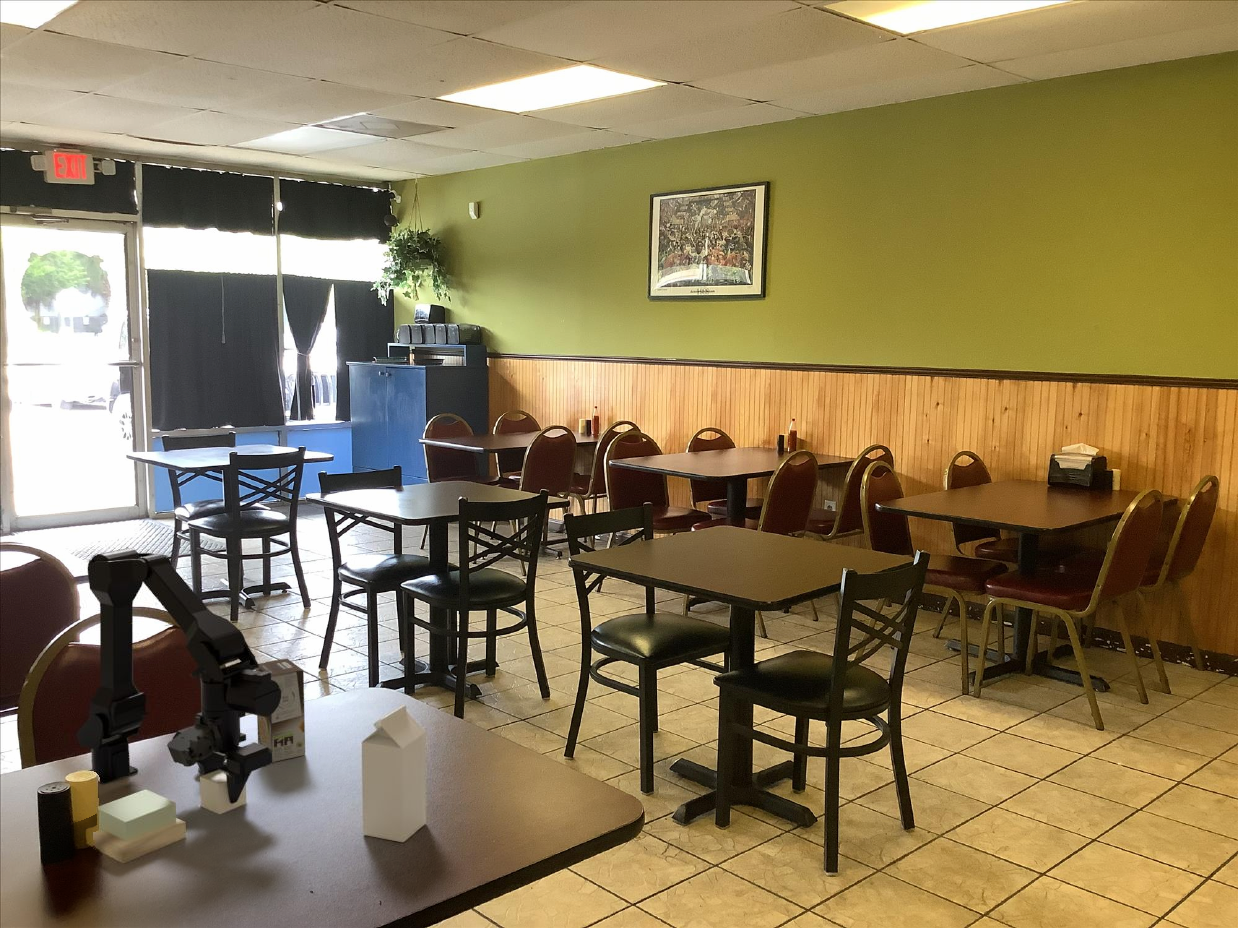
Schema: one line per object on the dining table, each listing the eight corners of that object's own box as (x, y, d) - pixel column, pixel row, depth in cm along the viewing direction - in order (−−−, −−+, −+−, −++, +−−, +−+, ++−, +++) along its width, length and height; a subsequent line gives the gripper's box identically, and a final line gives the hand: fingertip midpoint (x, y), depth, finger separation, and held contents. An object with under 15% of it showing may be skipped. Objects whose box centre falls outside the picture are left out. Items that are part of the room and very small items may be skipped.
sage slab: (96, 826, 157) (95, 807, 156) (146, 807, 163) (145, 789, 163) (126, 841, 152) (125, 821, 152) (176, 821, 159) (175, 802, 159)
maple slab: (86, 847, 156) (85, 828, 156) (148, 823, 165) (147, 804, 164) (123, 867, 151) (122, 847, 151) (186, 840, 159) (185, 821, 159)
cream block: (200, 806, 170) (199, 776, 169) (227, 795, 174) (226, 766, 173) (219, 814, 167) (218, 784, 166) (246, 802, 171) (245, 773, 170)
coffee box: (307, 755, 191) (305, 669, 189) (272, 762, 187) (269, 676, 185) (289, 739, 198) (288, 657, 197) (255, 746, 195) (253, 663, 193)
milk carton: (426, 823, 165) (425, 707, 162) (403, 843, 158) (402, 722, 156) (387, 816, 167) (386, 701, 165) (362, 835, 160) (360, 716, 158)
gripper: (140, 707, 167) (144, 801, 169) (212, 733, 157) (215, 832, 158) (202, 689, 176) (205, 778, 178) (274, 712, 166) (276, 806, 167)
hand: (223, 798), depth 170 cm, fingers closed on cream block, 5 cm apart
